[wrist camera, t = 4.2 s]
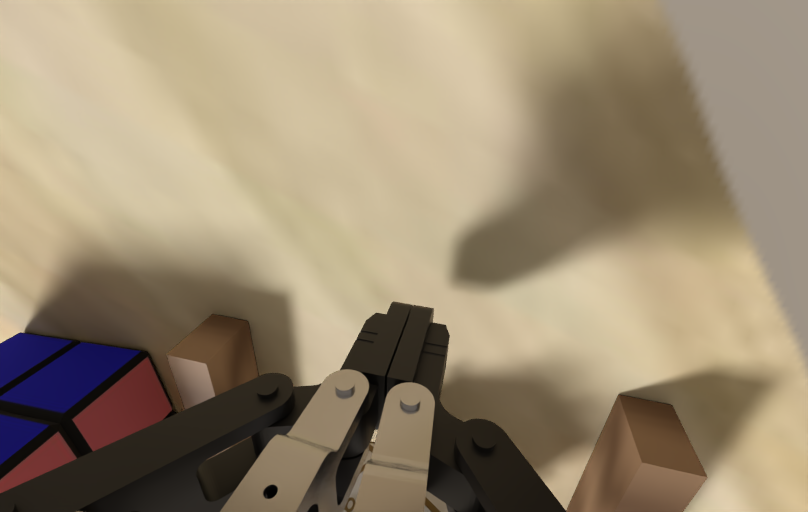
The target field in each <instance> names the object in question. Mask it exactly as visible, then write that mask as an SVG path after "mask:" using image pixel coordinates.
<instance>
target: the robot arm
mask: <svg viewBox="0 0 808 512" xmlns="http://www.w3.org/2000/svg"><path fill="white" fill-rule="evenodd" d="M433 314H434V308H428V307H422V306H416V305H410V304H404V303H398V302H392V304H391V306H390V308H389V310H388V312H387V314H380V313H375V314H374V315H373V316H371V317H370V318H369V319H367V320H366V322H365V324H364V326H363V328H362V329H361V332H360V333H359V335H358V337H357V340H356V341H355V343H354V345H353V347H352V348H351V350H350V352H349V354H348V356H347V358H346V360H345V362H344V364H343V365H342V367H341V369H340V370H339V371H336V372H334V373H332V374H330V375H329V376H328V377H326V379H325V380H324V381H323V383H322V384H319V385H314V386H299V387H293V383H292V381H291V379H290V378H289V377H287V376H286V375H283V374H280V373H269V374H265V375H262V376H259V377H257V378H255V379H252V380H250V381H248V382H246V383H244V384H241V385H239V386H237V387H235V388H232V389H230V390H228V391H226V392H224V393H221V394H219V395H217V396H215V397H213V398H210V399H208V400H206V401H204V402H201V403H199V404H197V405H195V406H193V407H190V408H188V409H186V410H184V411H182V412H179V413H177V414H175V415H173V416H170V417H168V418H166V419H164V420H162V421H159V422H157V423H155V424H153V425H151V426H148V427H146V428H144V429H142V430H139V431H137V432H135V433H133V434H131V435H128V436H126V437H124V438H122V439H119V440H117V441H115V442H113V443H111V444H108V445H106V446H104V447H102V448H100V449H97V450H95V451H93V452H91V453H88V454H86V455H84V456H82V457H80V458H77V459H75V460H73V461H71V462H69V463H66V464H64V465H62V466H60V467H57V468H55V469H53V470H51V471H49V472H46V473H44V474H42V475H40V476H38V477H35V478H33V479H31V480H29V481H26V482H24V483H22V484H20V485H18V486H15V487H13V488H11V489H9V490H7V491H4V492H2V493H0V512H343V511H344V508H345V506H346V504H347V501H348V499H349V497H350V494H351V492H352V490H353V487H354V485H355V483H356V480H357V478H358V476H359V474H360V471H361V469H362V467H363V464H364V462H365V460H366V457H367V455H368V452H369V444H370V441H371V438H372V436H373V433H374V430H375V429H377V430H378V432H377V436H376V440H375V444H374V448H373V452H372V456H371V459H370V460H368V461H367V463H366V465H365V468H364V471H363V475H362V479H361V483H360V487H359V491H358V494H357V498H356V502H355V506H354V510H353V512H424V507H425V498H426V491H428V492H429V493H431V494H432V495H434V496H435V497H437V498H438V499H440V500H441V501H443V502H444V503H446V506H447V510H448V512H566V510H565V509H564V508H563V507H562V505H561V504H560V503H559V501H558V500H557V499H556V498H555V496H554V495H553V494H552V492H551V491H550V490H549V488H548V487H547V486H546V485H545V483H544V482H543V481H542V479H541V478H540V477H539V476H538V474H537V473H536V472H535V470H534V469H533V468H532V466H531V465H530V464H529V463H528V461H527V460H526V459H525V457H524V456H523V455H522V454H521V452H520V451H519V450H518V448H517V447H516V446H515V445H514V443H513V442H512V441H511V439H510V438H509V437H508V435H507V434H506V433H505V432H504V431H503V429H501V428H500V427H499V426H498V425H496V424H495V423H493V422H491V421H488V420H484V419H471V420H468V421H466V422H462V421H460V420H459V419H457V418H455V417H453V416H452V415H450V414H449V413H448V412H447V411H446V410H445V409H444V407H443V406H442V404H441V402H440V395H441V389H442V384H443V379H444V373H445V368H446V360H447V352H448V344H449V336H450V335H449V333H448V330H447V328H446V325H443V324H437V323H433ZM250 436H251V437H250ZM248 437H249V438H248ZM246 438H247V439H246ZM244 439H245V440H244ZM242 440H244V441H242ZM240 441H242V442H240ZM239 442H240V443H239ZM237 443H238V444H237ZM235 444H236V445H235ZM233 445H234V446H233ZM231 446H232V447H231ZM229 447H230V448H229ZM227 448H229V449H227ZM225 449H227V450H225ZM224 450H225V451H224ZM222 451H223V452H222ZM220 452H221V453H220ZM218 453H219V454H218ZM216 454H217V455H216ZM214 455H216V456H214ZM212 456H214V457H212ZM210 457H212V458H210ZM209 458H210V459H209ZM207 459H208V460H207Z"/></svg>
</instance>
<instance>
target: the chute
mask: <svg viewBox="0 0 808 512" xmlns="http://www.w3.org/2000/svg"><path fill="white" fill-rule="evenodd" d="M166 356H167V359H168V362H169V365H170V368H171V371H172V374H173V377H174V379H175V382H176V385H177V388H178V391H179V394H180V397H181V400H182V403H183V406H184V409H185V410H186V409H188V408H190V407H193V406H195V405H197V404H199V403H201V402H204V401H206V400H208V399H210V398H213V397H215V396H217V395H219V394H221V393H224V392H226V391H228V390H230V389H232V388H235V387H237V386H239V385H241V384H244V383H246V382H248V381H250V380H252V379H255V378H257V377H259V375H258V370H257V365H256V360H255V355H254V350H253V344H252V339H251V334H250V329H249V324H248V321H244V320H239V319H234V318H229V317H224V316H219V315H214V314H212V315H211V316H210V317H209V318H207V319H206V320H205V321H204V322H203V323H202V324H201V325H199V326H198V327H197V328H196V329H195V330H194V331H193V332H191V333H190V334H189V335H188V336H187V337H186V338H185V339H183V340H182V341H181V342H180V343H179V344H178V345H176V346H175V347H174V348H173V349H172V350H171V351H170V352H168V353H167V354H166ZM250 437H251V436H250ZM248 438H249V437H248ZM246 439H247V438H246ZM244 440H245V439H244ZM244 440H242V441H244ZM242 441H240V442H242ZM240 442H239V443H240ZM237 444H238V443H237ZM235 445H236V444H235ZM233 446H234V445H233ZM231 447H232V446H231ZM229 448H230V447H229ZM229 448H227V449H229ZM227 449H225V450H227ZM225 450H224V451H225ZM222 452H223V451H222ZM220 453H221V452H220ZM218 454H219V453H218ZM216 455H217V454H216ZM216 455H214V456H216ZM214 456H212V457H214ZM212 457H210V458H212ZM210 458H209V459H210ZM207 460H208V459H207ZM706 479H707V475H706V473H705V471H704V469H703V467H702V465H701V463H700V461H699V459H698V457H697V455H696V453H695V451H694V449H693V447H692V445H691V443H690V441H689V439H688V437H687V435H686V433H685V430H684V428H683V426H682V424H681V422H680V420H679V418H678V416H677V414H676V412H675V410H674V408H673V406H672V405H668V404H663V403H658V402H653V401H648V400H643V399H638V398H633V397H628V396H623V395H618V397H617V399H616V401H615V403H614V406H613V408H612V410H611V412H610V415H609V417H608V419H607V421H606V423H605V426H604V428H603V430H602V432H601V435H600V437H599V439H598V441H597V444H596V446H595V448H594V450H593V452H592V455H591V457H590V459H589V461H588V464H587V466H586V468H585V470H584V472H583V475H582V477H581V479H580V481H579V484H578V486H577V488H576V490H575V492H574V495H573V497H572V499H571V501H570V504H569V506H568V508H567V510H566V512H683V511H684V509H685V508H686V507H687V505H688V504H689V502H690V501H691V500H692V498H693V497H694V495H695V494H696V493H697V491H698V490H699V489H700V487H701V486H702V484H703V483H704V482H705V480H706Z"/></svg>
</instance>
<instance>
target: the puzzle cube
mask: <svg viewBox="0 0 808 512" xmlns="http://www.w3.org/2000/svg"><path fill="white" fill-rule="evenodd" d="M175 414H176V413H175V412H173V411H172V404H171V402H170V400H169V397H168V395H167V393H166V391H165V389H164V387H163V384H162V382H161V380H160V378H159V376H158V374H157V372H156V369H155V367H154V365H153V363H152V361H151V359H150V356H149V354H148V352H146V351H139V350H132V349H126V348H119V347H113V346H106V345H100V344H93V343H86V342H80V341H74V340H68V339H61V338H55V337H48V336H42V335H35V334H28V333H18V334H16V335H15V336H13V337H11V338H9V339H7V340H6V341H4V342H2V343H0V493H2V492H4V491H7V490H9V489H11V488H13V487H15V486H18V485H20V484H22V483H24V482H26V481H29V480H31V479H33V478H35V477H38V476H40V475H42V474H44V473H46V472H49V471H51V470H53V469H55V468H57V467H60V466H62V465H64V464H66V463H69V462H71V461H73V460H75V459H77V458H80V457H82V456H84V455H86V454H88V453H91V452H93V451H95V450H97V449H100V448H102V447H104V446H106V445H108V444H111V443H113V442H115V441H117V440H119V439H122V438H124V437H126V436H128V435H131V434H133V433H135V432H137V431H139V430H142V429H144V428H146V427H148V426H151V425H153V424H155V423H157V422H159V421H162V420H164V419H166V418H168V417H170V416H173V415H175Z"/></svg>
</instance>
